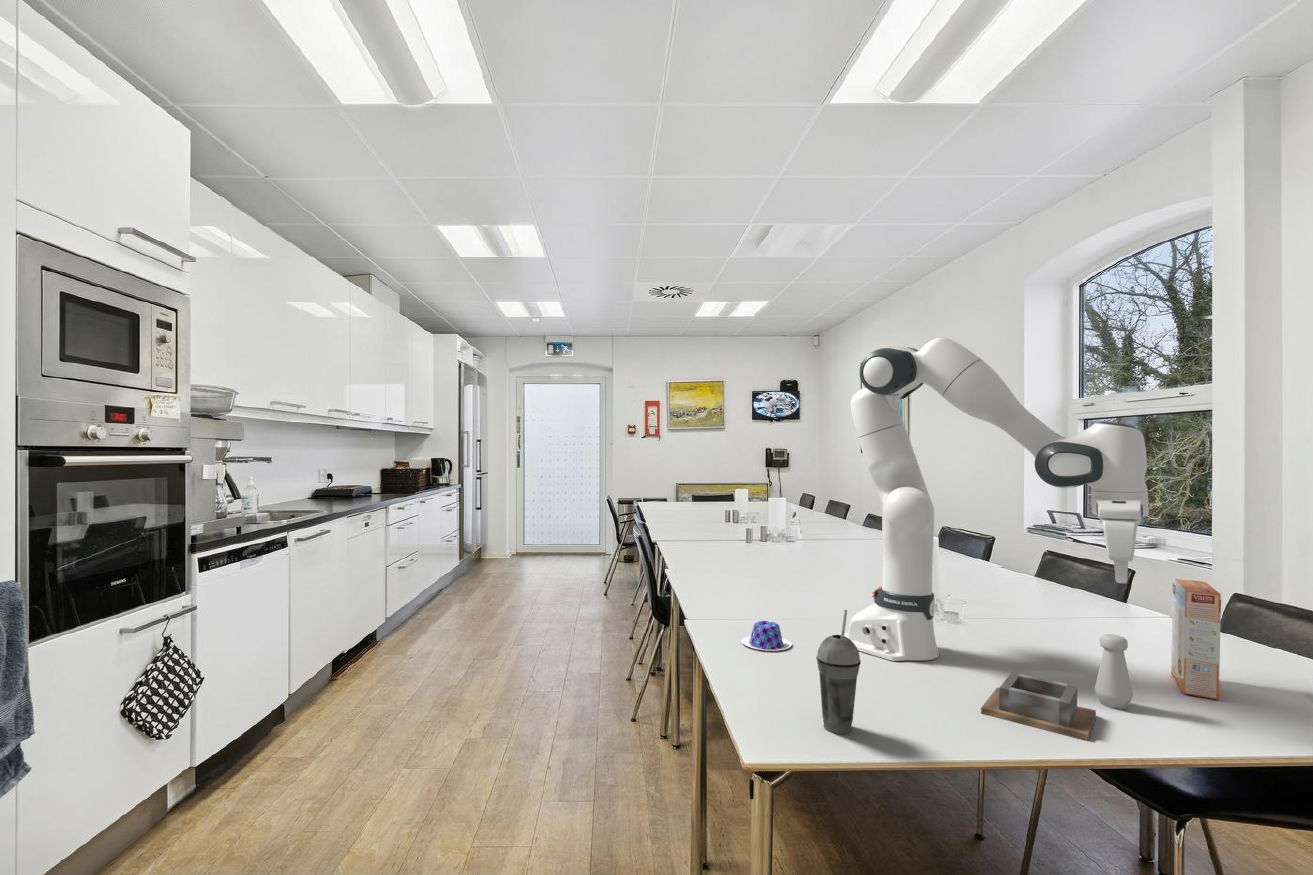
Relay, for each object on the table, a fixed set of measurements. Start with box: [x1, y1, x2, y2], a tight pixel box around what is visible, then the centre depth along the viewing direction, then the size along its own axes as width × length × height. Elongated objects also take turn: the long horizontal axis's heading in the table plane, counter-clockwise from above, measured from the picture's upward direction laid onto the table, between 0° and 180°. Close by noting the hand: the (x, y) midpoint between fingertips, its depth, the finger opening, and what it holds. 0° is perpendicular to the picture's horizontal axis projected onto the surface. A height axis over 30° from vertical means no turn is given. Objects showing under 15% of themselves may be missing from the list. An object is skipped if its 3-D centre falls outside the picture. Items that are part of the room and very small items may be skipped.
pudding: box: [740, 620, 793, 652], centre depth 152 cm, size 12×12×5 cm
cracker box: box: [1170, 578, 1222, 701], centre depth 129 cm, size 14×6×21 cm, turn 148°
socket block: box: [980, 671, 1097, 742], centre depth 114 cm, size 16×13×5 cm
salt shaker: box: [1094, 633, 1134, 710], centre depth 119 cm, size 6×6×13 cm
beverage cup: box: [815, 609, 862, 735], centre depth 107 cm, size 7×7×20 cm
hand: (1121, 578), depth 121 cm, fingers open, 8 cm apart
